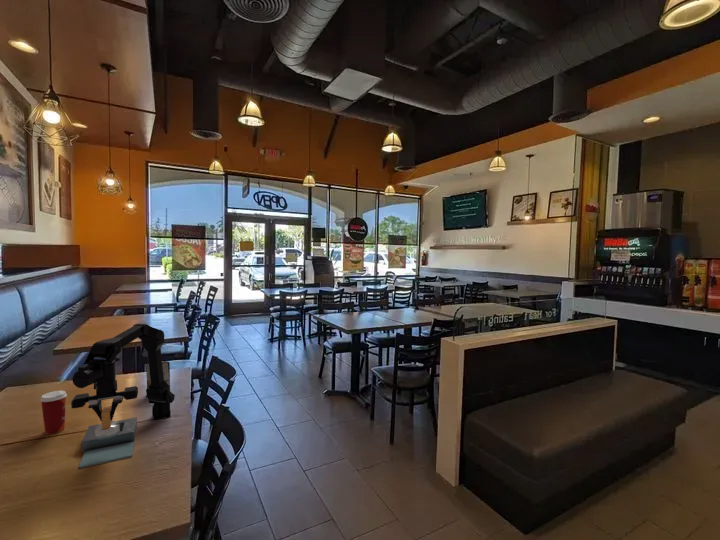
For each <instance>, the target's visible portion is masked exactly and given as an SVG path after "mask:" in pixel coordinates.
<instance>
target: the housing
mask: <svg viewBox="0 0 720 540" xmlns="http://www.w3.org/2000/svg"><path fill="white" fill-rule="evenodd" d="M117 421H118V422H119V423H120V432H119V433H118V434H117V435H116V436H114V437H111V438H108V439H96V438H95V427H96V426H98V425H99V424H100V423H98V424H91V425H88V427H87V430H86V432H85V434H84V436H83V438H82V440H81V453H82V454H84V453H85V452H86V451H91V450H96V449H101V448H106V447H110V446H115V445H120V444H125V443H130V442H134V443H135V441H136V436H137V430H138V417H131V418H126V419H120V420H117Z"/></svg>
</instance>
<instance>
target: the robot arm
mask: <svg viewBox="0 0 720 540" xmlns="http://www.w3.org/2000/svg"><path fill="white" fill-rule="evenodd" d="M137 339H139V340H140V341H141V346H142V347H143V348H144V350H146V352H147V359H148V360H147V361H148V362H147V363H149V371H150V380H151V384H150V385H149V387H148V388H147V387H146V389H145V392H146V397H145V398H147V401H148V404H150V405H151V404H153V405H152V406H151V408H152V411H151V412H152V413H151V414H152V415H151V417H152V418H153V420H154V421H156V420H160V419H166V418H170V417H171V412H172V411H171V404H172V403H173V402H174V401H175V397H176V395H175V394H174V393H173V392H172V391H171V388H170V389H169V385H168V384H167V383H166V381H165V380H164V375H163V366H162V361H163V359H162V347H163V345H164V343H165V332H164V331H163V330H162V329H158V328H156V327H153V326H150V325H148V324H147V323H135V324H133V325H132V326H131V327H129V328H127V329H125V330H124V331H122V332H121V333H119V334H117V335H115V336H113V337H111V338H106V339H105V338H104V339H101V340H98V341H96V342H94V343H93V344H92V347H91V348H90V350H89V352H88V354H87V356H86V358H85V360H84V362H83V365H82V366H78V368H77V371H76V372H75V373H74V374H73V376H72V377H71V379H72V383H73V385H74V386H75V387H76V388H78V389H85V388H86V387H88V386H90V385H93V390H95V395H90V394H89V393H88V392H87V393H81V394H76V395H74V396H73V398H72V400H71V402H70V403H71V404H70V406H71V409H79V408H83V407H84V406H86V404H87V403H88V407H87V408H88V409H92V410H93V412H95V414H96V415H97V416H98V418H99V420H100V422H101V423H102V415H101V413H102V410H103V405H102V401H103V400H110V399H112V403H111V406H112V407H111V420H112V421H113V419H114V416H115V412H116V409H118V408H117V407H118V406H119V404H121V403H123V401H124V400H126V401H129V400H136V399H137V398H138V394H139V388H138V387H137V386H129V387H124V390H122V391H118V380H117V379H116V377H117V376H116V363H117V362H118V361H120V358H119V357H117V356H118V355H119V354H120V353H121V352H122V349H123V348H124V347H126V346H127V345H128V344H131V343H132V342H133V341H135V340H137Z"/></svg>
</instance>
